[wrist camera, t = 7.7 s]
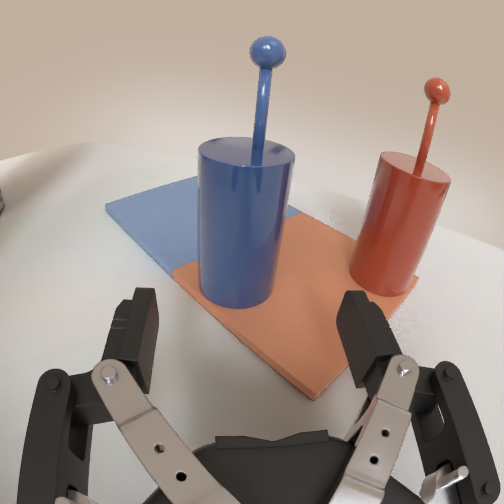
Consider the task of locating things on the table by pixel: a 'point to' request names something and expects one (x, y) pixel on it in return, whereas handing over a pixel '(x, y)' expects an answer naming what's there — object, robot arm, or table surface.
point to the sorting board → (285, 287)
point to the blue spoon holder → (243, 202)
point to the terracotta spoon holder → (401, 211)
